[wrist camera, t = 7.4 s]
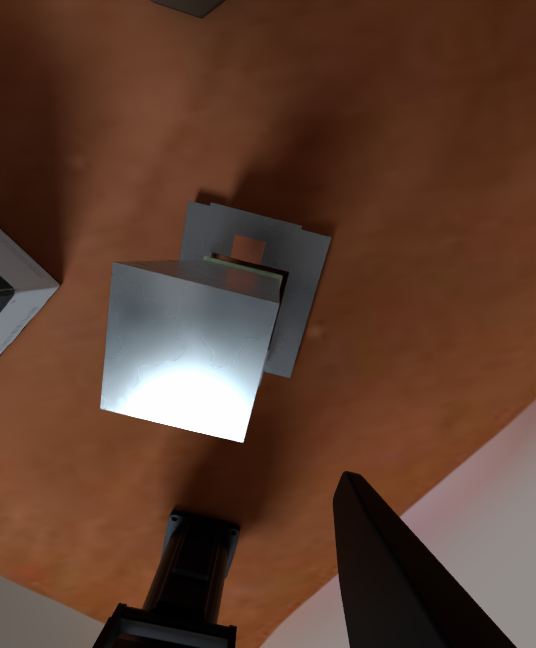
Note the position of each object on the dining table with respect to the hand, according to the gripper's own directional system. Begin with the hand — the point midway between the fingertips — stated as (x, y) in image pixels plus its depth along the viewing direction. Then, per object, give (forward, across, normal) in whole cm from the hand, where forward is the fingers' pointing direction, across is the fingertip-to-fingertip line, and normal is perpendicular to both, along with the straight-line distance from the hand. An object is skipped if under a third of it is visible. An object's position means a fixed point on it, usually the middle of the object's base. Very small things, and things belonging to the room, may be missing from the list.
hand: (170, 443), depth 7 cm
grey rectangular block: (+10, 0, -2) cm, 10 cm away
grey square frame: (+13, 0, -2) cm, 13 cm away
